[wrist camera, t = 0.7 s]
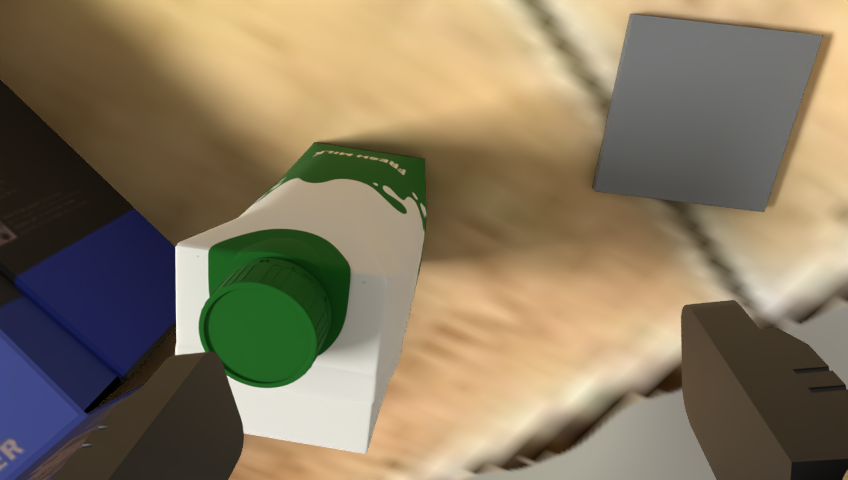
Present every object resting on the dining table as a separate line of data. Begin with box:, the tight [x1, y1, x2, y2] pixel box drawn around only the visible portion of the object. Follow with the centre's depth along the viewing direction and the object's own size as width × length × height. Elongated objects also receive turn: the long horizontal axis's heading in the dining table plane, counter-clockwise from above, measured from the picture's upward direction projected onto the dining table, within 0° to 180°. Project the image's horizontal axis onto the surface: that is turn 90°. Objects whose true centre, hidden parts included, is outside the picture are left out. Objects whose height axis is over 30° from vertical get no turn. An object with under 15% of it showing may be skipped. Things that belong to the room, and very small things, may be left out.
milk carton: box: [175, 142, 427, 454], centre depth 30 cm, size 9×9×20 cm
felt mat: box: [593, 14, 823, 212], centre depth 35 cm, size 10×10×1 cm
